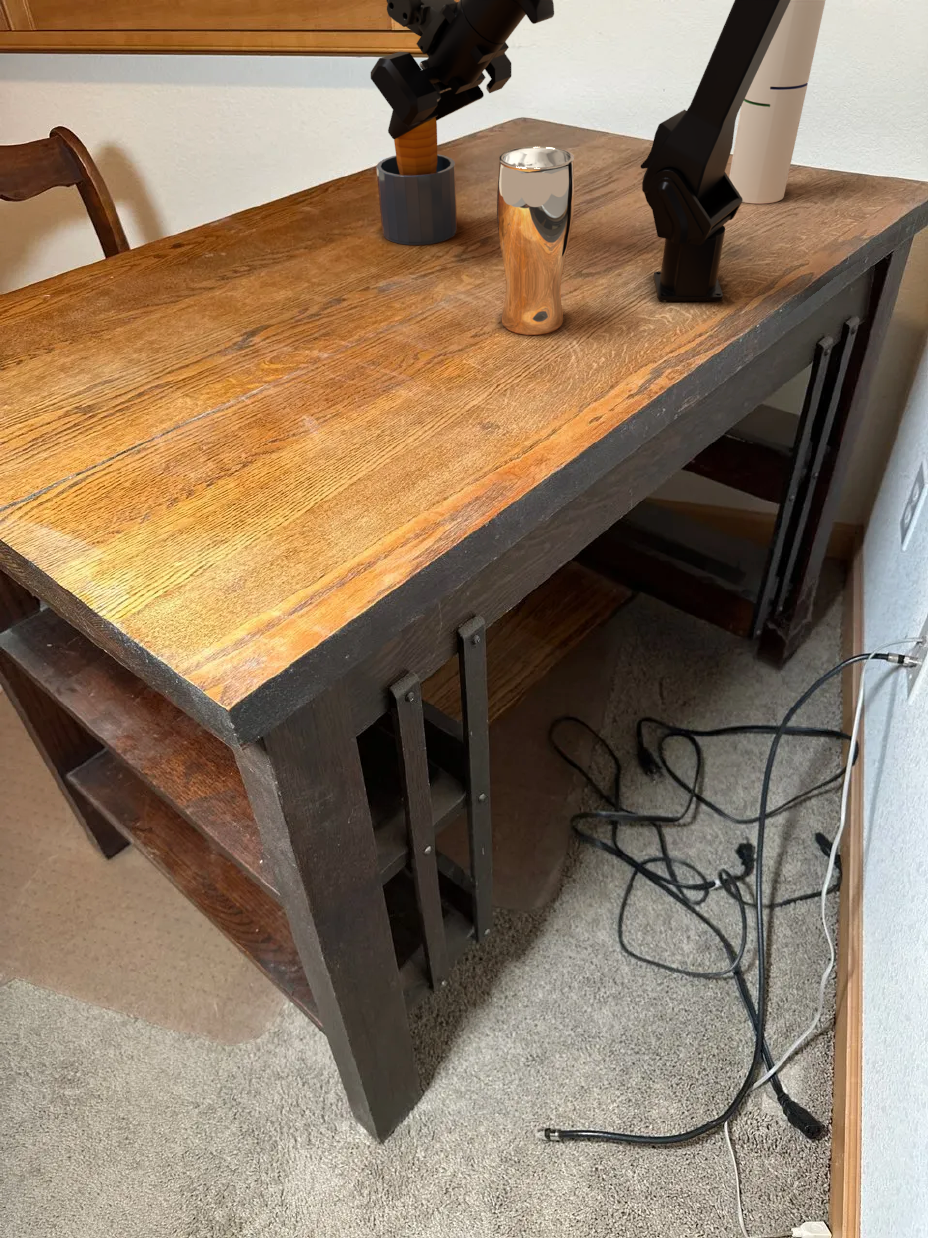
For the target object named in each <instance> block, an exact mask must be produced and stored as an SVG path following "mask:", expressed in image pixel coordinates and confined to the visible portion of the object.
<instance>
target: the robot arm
mask: <svg viewBox="0 0 928 1238" xmlns="http://www.w3.org/2000/svg"><path fill="white" fill-rule="evenodd" d="M790 1H791V0H734V1H733V3H732V5H731V9H730V11H729V13H728V16H727V18H726V20H725V22H724V24H723V27H722V30H721V31H720V35H719V36H718V39H717V41H716V44H715V46H714V48H713V51H712V53H711V56H710V58H709V60H708V62H707V65H706V68H705V69H704V72H703V74H702V77H701V78H700V81H699V84H698V86H697V89H696V91H695V93H694V96H693V97H692V100H691V102H690V105H689V106H688V108H687V110H686V109H683V110H681V111H680V112H678V113H676V114H674V115H672V116H671V117H669V118H667V119H665V120H664V121H662V122H660V123H659V124H658V126H657V129H656V131H655V133H654V137H653V141H652V145H651V148H650V152H649V154H648V155H647V157H646V159H645V160H644V161H643V162H642V163H641V164H640V169H642V170H643V169H646V170H645V172H644V174H643V177H642V178H643V179H642V181H641V182H642V184H641V185H642V186H641V187H642V188H641V191H642V193H643V195H644V197H645V200H646V202H647V204H648V205H649V207H650V209H651V210H652V215H653V216H652V217H653V221H654V225H655V231H656V236H657V237H658V238H660V239H664V247H663V253H662V262H661V269H660V271H654V272H653V283H654V287H655V292H656V296H657V299H658V300H659V301H663V302H664V301H669V302H670V301H672V302H673V301H677V302H678V301H680V302H681V301H687V302H689V301H692V302H693V301H694V302H695V301H697V302H699V301H700V302H702V301H703V302H706V301H708V302H712V301H713V302H718V301H719V302H720V301H723V298H724V293H723V290H722V288H721V285H720V281H719V279H718V274H719V268H720V263H721V258H722V252H723V245H724V240H725V234H726V227H725V224H727V223H728V222H729V221H731V220H733V219H734V218H735V216H736V214H737V213H738V211H739V209H740V207H741V206H742V203H743V202H742V201H743V200H742V197H741V196H740V194H739V193H738V191H737V190H736V188H735V186H734V185H733V183H732V182H731V180H730V179H729V176H728V174H727V173H726V168H727V166H728V162H729V159H730V156H731V152H732V149H733V144H734V136H735V135H734V134H735V127H736V120H737V116H738V114H739V113H740V110H741V105H742V103H743V101H744V99H745V97H746V95H747V92H748V90H749V88H750V86H751V84H752V82H753V80H754V77H755V75H756V73H757V71H758V69H759V67H760V65H761V63H762V60H763V58H764V56H765V54H766V52H767V50H768V48H769V45H770V43H771V41H772V39H773V37H774V35H775V33H776V30H777V28H778V26H779V24H780V22H781V20H782V18H783V16H784V13H785V11H786V9H787V7H788V5H789V3H790ZM386 4H387V5H386V12H387V15H388V17H389V18H390V19H392V20H393V21H394V22H396V23H397V24H399V25H400V26H402V27H403V28H407V29H408V30H410V31H411V32H412V33H414V34H415V35H417V36H418V37H419V39H418V40H417V41H416V43H415V45H416V46H417V47H418V49H419V50H420V51H421V53H422V54H423V55H427V59H424V60H421V61H420V62H419V64H418V62H417V60H416V59H415V58H414V56H413V55H412V53H411V52H406V51H398V52H395V53H391V54H388V55H385V56H382V57H379V58H378V60H377V61H376V63H375V65H374V66H373V68H372V69H371V71H370V80H371V81H372V83H373V84H374V85H375V87H376V88H377V90H378V91H379V93H380V94H381V95H382V96H383V98H384V99H385V101H386V103H387V104H388V105H389V107H390V108H391V109H392V111H391V112H392V113H391V116H390V121H389V125H388V129H387V133H388V134H389V136H390V137H391V139H392V140H394V139H396V138H398V137H400V136H402V135H404V134H406V133H407V132H409V131H411V130H413V129H415V128H417V127H418V126H420V125H422V124H424V123H426V122H428V121H430V120H431V119H433V118H436V122H437V121H439V120H442V119H443V118H445V117H447V116H449V115H451V114H453V113H455V112H458V111H459V110H461V109H463V108H465V107H467V106H469V105H471V104H473V103H475V102H477V101H479V100H482V99H483V98H484V95H485V94H484V91H483V90H482V88H481V87H480V86H481V84H483V82H484V81H485V79H486V78H487V77H486V75H485V74H484V73H483V72H484V71H485V72H486V73H487V74H488V76H489V78H490V80H489V81H488V83H487V84H486V87H485V89H486V91H487V92H488V93H489V94H492V93H494V92H498V91H500V90H502V89H503V88H504V86H505V85H506V84H507V83H508V81H510V79H511V78H512V61H511V60H510V58H509V57H508V56H507V54H506V52H507V50H508V49H509V48H510V47H509V45H508V43H507V40H508V39H509V37H511V35H512V34H513V32H515V29H517V27H518V26H519V25H520V23H521V22H522V20H523V19H524V18H525V17H527V19H528V20H529V22H530V23H531V24H533V25H535V24H539V23H542V22H544V21H547V20H549V19H552V18H553V17H554V16H555V5H554V0H459V1H456V0H386Z"/></svg>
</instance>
